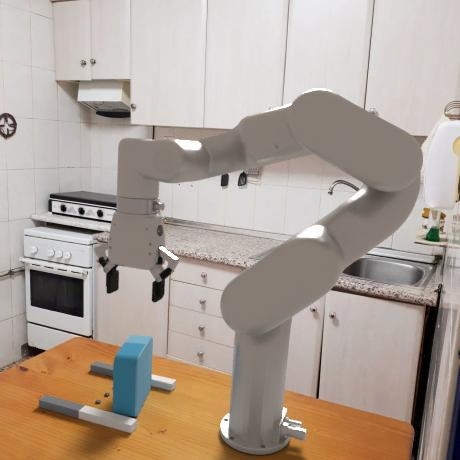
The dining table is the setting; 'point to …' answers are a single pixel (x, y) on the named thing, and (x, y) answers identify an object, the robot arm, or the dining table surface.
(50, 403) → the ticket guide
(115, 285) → the robot arm
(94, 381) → the dining table surface
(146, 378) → the blue rounded box
